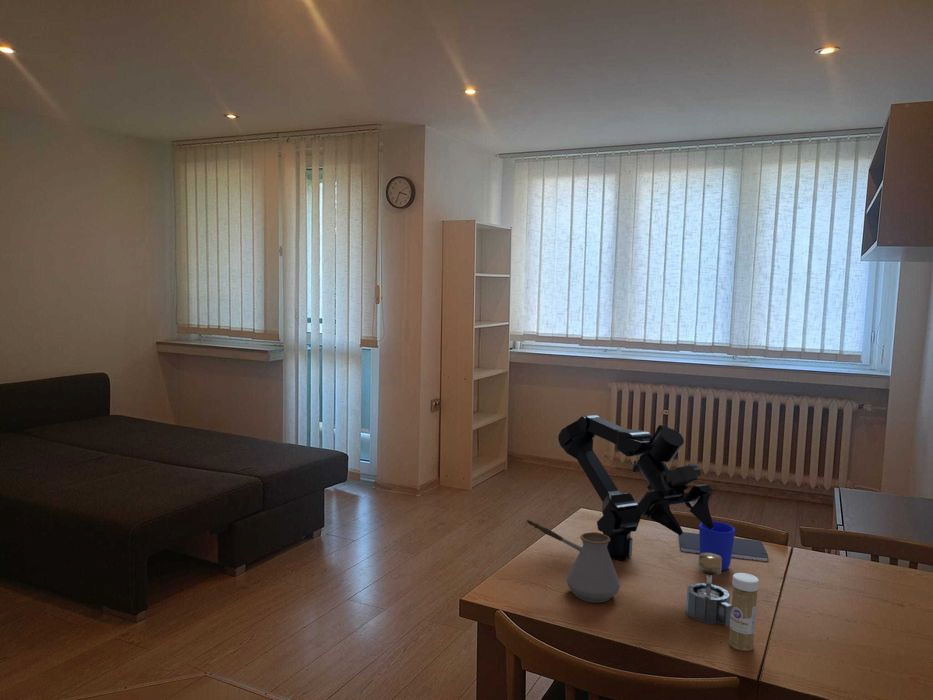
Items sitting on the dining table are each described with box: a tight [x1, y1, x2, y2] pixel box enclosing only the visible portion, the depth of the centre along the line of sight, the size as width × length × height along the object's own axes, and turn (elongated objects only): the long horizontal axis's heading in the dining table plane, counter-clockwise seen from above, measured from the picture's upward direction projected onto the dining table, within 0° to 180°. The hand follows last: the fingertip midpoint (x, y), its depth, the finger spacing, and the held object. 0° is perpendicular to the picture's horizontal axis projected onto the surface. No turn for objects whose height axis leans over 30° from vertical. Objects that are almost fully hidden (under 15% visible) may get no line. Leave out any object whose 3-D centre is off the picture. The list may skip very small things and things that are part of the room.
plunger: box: [697, 553, 722, 598], centre depth 142 cm, size 4×4×8 cm
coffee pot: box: [523, 519, 621, 603], centre depth 151 cm, size 21×12×15 cm, turn 75°
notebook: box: [678, 531, 769, 562], centre depth 182 cm, size 13×2×21 cm
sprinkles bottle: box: [728, 572, 760, 652], centre depth 130 cm, size 5×5×14 cm
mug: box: [698, 520, 736, 571], centre depth 170 cm, size 8×12×10 cm
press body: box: [685, 582, 732, 627], centre depth 142 cm, size 10×8×5 cm
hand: (697, 531), depth 151 cm, fingers open, 9 cm apart
